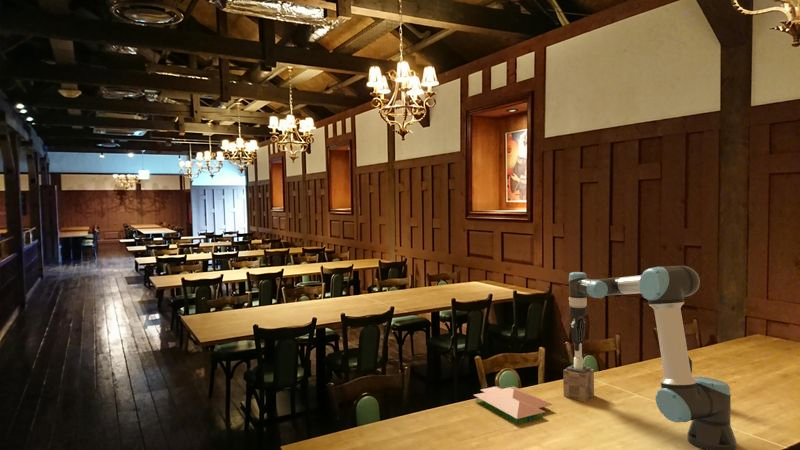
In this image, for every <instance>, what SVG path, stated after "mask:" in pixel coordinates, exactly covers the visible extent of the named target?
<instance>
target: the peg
mask: <svg viewBox="0 0 800 450" xmlns="http://www.w3.org/2000/svg"><path fill="white" fill-rule="evenodd" d="M573 364H574V369H579V370H583V366H584V358H583V357H582V358H576V357H575V356H574V357H573Z"/></svg>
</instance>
